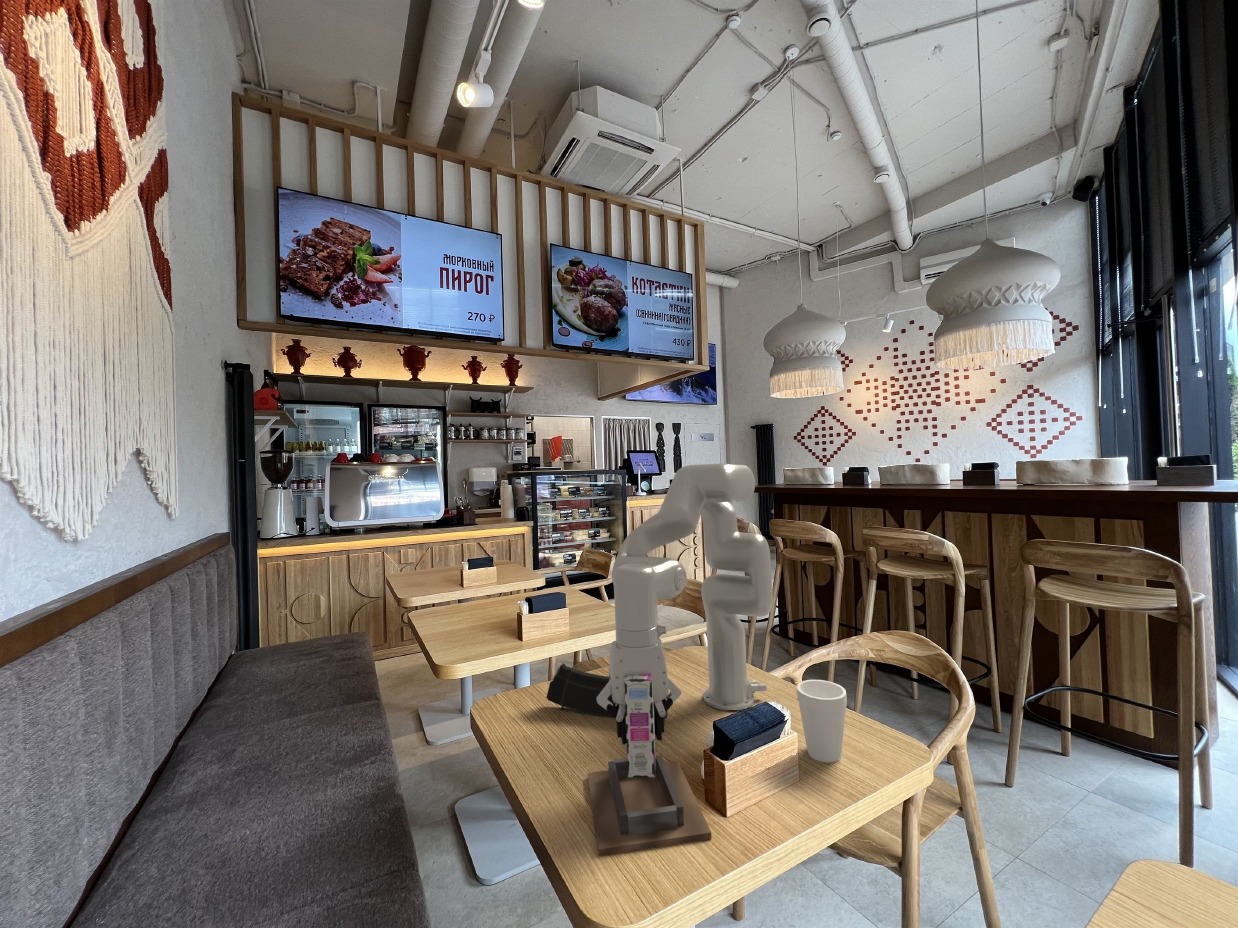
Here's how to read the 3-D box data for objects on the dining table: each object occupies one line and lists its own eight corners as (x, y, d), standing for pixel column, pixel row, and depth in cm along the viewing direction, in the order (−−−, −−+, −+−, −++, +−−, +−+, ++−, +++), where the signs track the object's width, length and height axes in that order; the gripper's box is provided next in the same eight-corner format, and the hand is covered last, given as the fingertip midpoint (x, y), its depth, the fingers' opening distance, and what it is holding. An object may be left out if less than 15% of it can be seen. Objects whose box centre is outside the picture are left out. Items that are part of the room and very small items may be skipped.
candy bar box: (657, 778, 83) (652, 679, 84) (627, 779, 84) (622, 680, 84) (654, 742, 95) (650, 655, 95) (628, 743, 95) (624, 656, 95)
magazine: (676, 681, 118) (564, 636, 128) (673, 687, 115) (559, 640, 125) (659, 748, 119) (549, 698, 129) (655, 756, 116) (543, 704, 126)
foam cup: (792, 743, 106) (789, 681, 106) (833, 739, 107) (830, 677, 107) (813, 769, 97) (810, 701, 97) (859, 764, 98) (855, 697, 98)
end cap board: (678, 766, 99) (677, 745, 99) (711, 838, 80) (710, 813, 80) (587, 778, 97) (586, 757, 97) (598, 855, 77) (597, 829, 77)
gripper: (678, 625, 94) (682, 722, 93) (586, 632, 91) (590, 733, 91) (689, 637, 86) (694, 744, 86) (590, 646, 84) (594, 756, 83)
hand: (640, 737), depth 88 cm, fingers closed on candy bar box, 5 cm apart
